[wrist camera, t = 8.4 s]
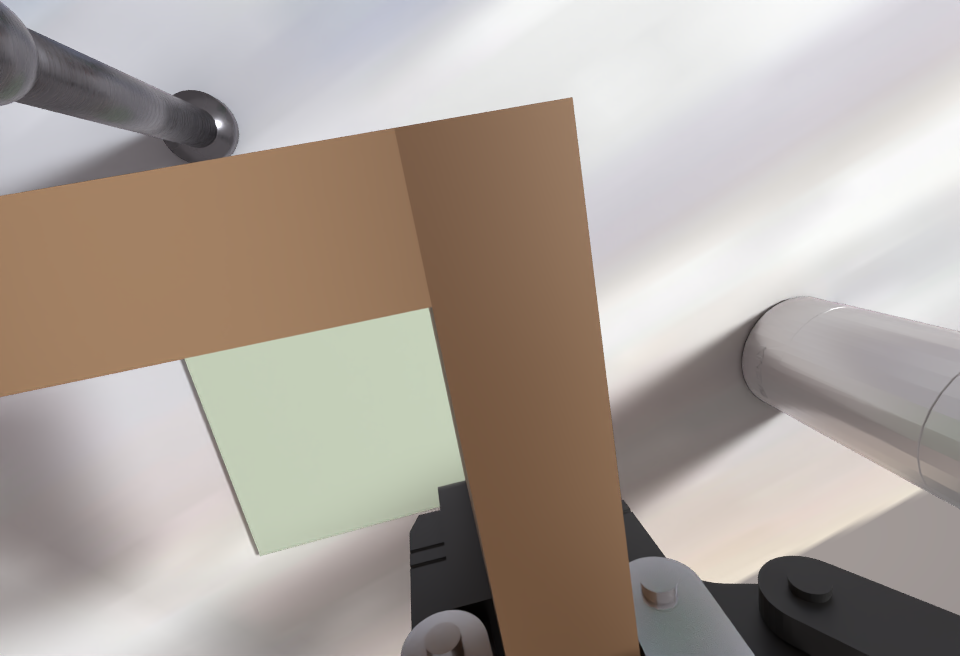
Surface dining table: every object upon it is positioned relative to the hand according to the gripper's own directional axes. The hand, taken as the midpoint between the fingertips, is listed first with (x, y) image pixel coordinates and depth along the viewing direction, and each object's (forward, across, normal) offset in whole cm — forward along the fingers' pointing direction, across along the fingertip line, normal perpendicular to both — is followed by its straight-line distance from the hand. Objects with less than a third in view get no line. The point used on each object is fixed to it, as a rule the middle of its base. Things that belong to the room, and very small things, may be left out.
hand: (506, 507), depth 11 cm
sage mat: (+25, +7, +7) cm, 26 cm away
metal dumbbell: (+24, +12, -13) cm, 30 cm away
